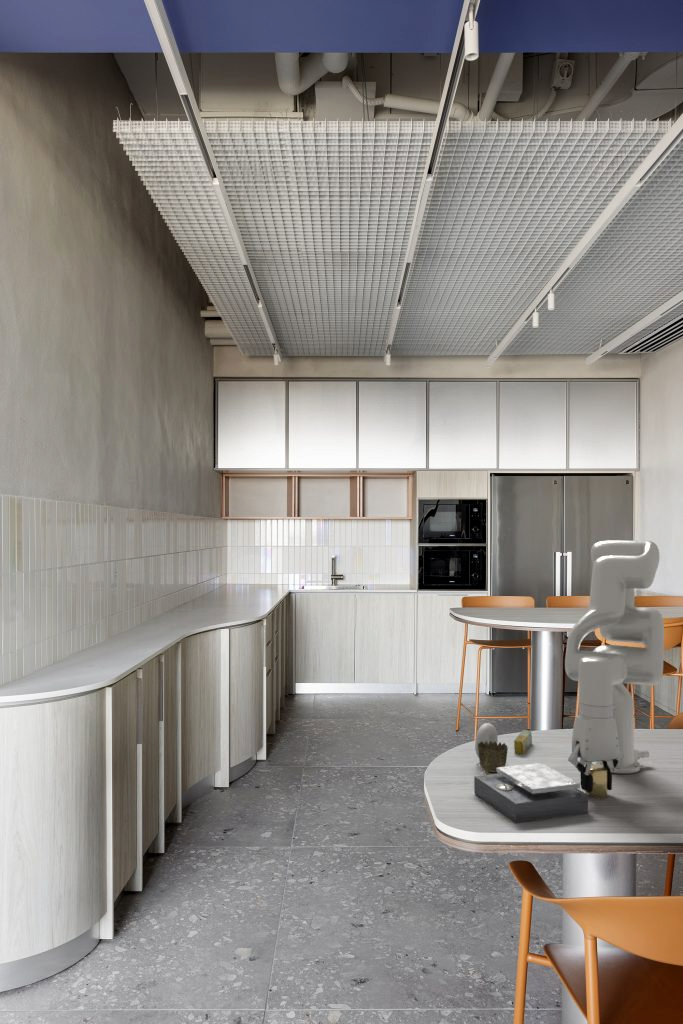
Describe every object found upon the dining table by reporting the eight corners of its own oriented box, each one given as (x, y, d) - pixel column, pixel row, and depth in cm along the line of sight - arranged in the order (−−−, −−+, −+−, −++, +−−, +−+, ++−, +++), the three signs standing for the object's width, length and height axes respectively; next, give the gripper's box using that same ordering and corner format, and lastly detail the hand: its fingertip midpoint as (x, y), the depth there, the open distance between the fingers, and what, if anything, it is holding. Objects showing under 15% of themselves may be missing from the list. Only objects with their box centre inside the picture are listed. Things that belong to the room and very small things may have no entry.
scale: (540, 785, 171) (540, 766, 171) (588, 813, 154) (588, 792, 154) (474, 793, 165) (474, 774, 166) (515, 823, 148) (515, 801, 148)
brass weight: (598, 790, 168) (598, 764, 168) (611, 797, 163) (611, 771, 164) (581, 792, 166) (581, 766, 167) (594, 799, 162) (594, 773, 162)
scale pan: (540, 767, 169) (540, 762, 169) (579, 788, 155) (579, 783, 155) (496, 771, 166) (496, 767, 166) (532, 793, 151) (532, 789, 151)
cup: (508, 783, 173) (508, 750, 173) (477, 780, 174) (477, 748, 174) (507, 773, 180) (507, 741, 180) (477, 771, 181) (477, 739, 182)
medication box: (522, 743, 207) (522, 729, 208) (532, 744, 206) (531, 730, 207) (514, 754, 197) (513, 739, 197) (524, 755, 195) (523, 740, 196)
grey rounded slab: (485, 766, 185) (485, 728, 185) (473, 764, 187) (472, 726, 187) (499, 757, 193) (499, 720, 193) (487, 755, 195) (487, 718, 195)
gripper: (615, 704, 172) (615, 780, 171) (555, 709, 167) (555, 787, 166) (636, 712, 165) (637, 791, 164) (574, 717, 160) (575, 799, 159)
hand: (596, 788), depth 165 cm, fingers closed on brass weight, 4 cm apart
